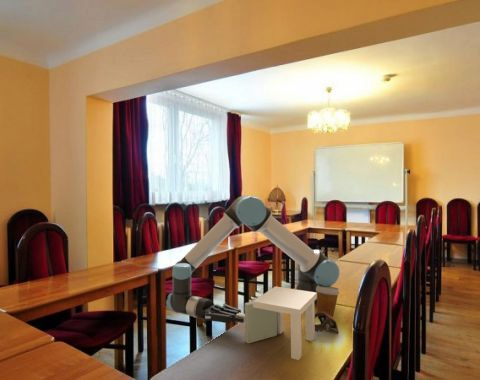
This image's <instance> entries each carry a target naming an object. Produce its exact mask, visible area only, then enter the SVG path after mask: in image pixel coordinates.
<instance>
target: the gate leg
mask: <svg viewBox="0 0 480 380" xmlns="http://www.w3.org/2000/svg"><path fill="white" fill-rule="evenodd" d="M253 301H254V300H253ZM253 301H249V302H244V314H245V324H244V339H245V343H247V344H252V343H254V342H258V341H262V340H265V339H268V338H273V337H276V336H278V334H279V333H278V312H275V311H270V310H265V309H260V308H254V307H253Z"/></svg>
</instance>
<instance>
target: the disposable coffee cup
mask: <svg viewBox="0 0 480 380" xmlns="http://www.w3.org/2000/svg"><path fill="white" fill-rule="evenodd" d="M316 292H317V303H316V313H317V312H319V311H321V310H323V311H324V312H326V313H327V314H328V315H330V316H332V317H333V318H334V316H335V310H336V306H337V302H338V297H339V294H340V291H339V288H337V287H334V286H328V287H322V286H320V285H317V287H316Z"/></svg>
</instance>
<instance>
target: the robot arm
mask: <svg viewBox="0 0 480 380" xmlns="http://www.w3.org/2000/svg"><path fill="white" fill-rule="evenodd" d="M242 225H245V226H246V227H248V229H250V230H251V231H252V232H253V233H260V234H261V235H263V236H264V237H265V238H266V239H268V240H269V241H270V242H271V244H273V245H275V246H276V247H277V248H278V249H279V250H281V251H282V252H283V253H284V254H286V255H287V256H288V257H289V258H291V259H292V260H293V261H294V262H296V263H297V283H296V288H295V289H296V290H303V291H309V292H316V287H317V285H320V286H322V287H328V286H331V287H333V285H334V284H336V283H337V281H338V279H339V277H340V267H339V266H338V264H337V263H336V262H335V261H334V260H332V259H329V258H328V257H327V256H326V255H325V254H324V253H323V250H321V249H312V248H311V247H310V246H308V244H306V243H305V242H304V241H302V240H301V239H300V238H299V237H298V236H296V235H295V234H294V233H293V232H291V230H289V229H288V228H287V227H286V226H284V225H283V223H281V222H280V221H279V220H277V219H276V218H275V217H274V216H273V211H272V210H271V209H270V208H268V207H267V206H266V204H265V202H264V201H263V200H262V199H260V198H259V197H256V196H254V195H240V196H239V197H237V198H236V199H234V201H233V202H232V203H231V205H230V206H229V207H228V208H227V209H226V210H225V211H224V212H223V216H222V217H221V218H220V219H219V221H218V222H216V224H214V225H213V226H212V227H211V229H210V230H209V231H208V232H207V233H206V234H205V235H204V236H203V237H202V238H201V239H200V240H198V242H197V243H196V244H195V245H194V246H193V247H192V248H191V249H190V250H189V251H188V252H187V253H186V254H185V255H184V256H183V257H182V258H181V260H178V261H177V262H176V263H175V264H174V265H173V266H172V271H171V272H172V273H171V276H172V292H170V293H169V294H168V295H167V299H166V302H165V303H166V308H167V309H168V310H169V311H172V312H175V313H177V314H182V315H187V316H190V317H193V318H198V319H200V320H204V321H207V322H209V321H210V322H211V321H212V322H216V323H217V322H218V323H225V324H233V325H235V324H236V323H238V324H239V323H240V324H243V325H245V312H244V313H243V312H242V310H241V309H240V308H237V307H234V306H231V305H228V304H227V303H223V304H222V305H219V304H215V303H214V302H213V300H211V299H210V298H204V297H200V296H195V295H193V294H192V274H193V272H195V271H196V270H197V268H198V267H199V266H200V265H201V264H202V263H203V262H204V261H205V260H206V259H207V258H208V257H209V256H210V255H211V253H213V252H214V251H215V250H216V249H217V247H219V246H220V244H221V243H222V242H224V240H226V238H227V237H228V236H229V235H230V234H231V233H232V232H233V231H234V230H235V229H239V228H240V227H242ZM316 293H317V292H316ZM314 304H317V299H316V300H315V301H314Z"/></svg>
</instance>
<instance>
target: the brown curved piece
mask: <svg viewBox="0 0 480 380" xmlns="http://www.w3.org/2000/svg"><path fill="white" fill-rule="evenodd" d="M315 319H318V321H319V322H320V323H318V324H316V323H315V333H319V332H323V331H326V332H328V328H329V329H333V330H336V333H337V335H338V334H339V328H338V325H337V321H336V320H335V318H334V316H333V317H332V316H330V315H328V314H327V313H326V312H324V311H323V310H321V311H319V312H317V311H316V312H315Z"/></svg>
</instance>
